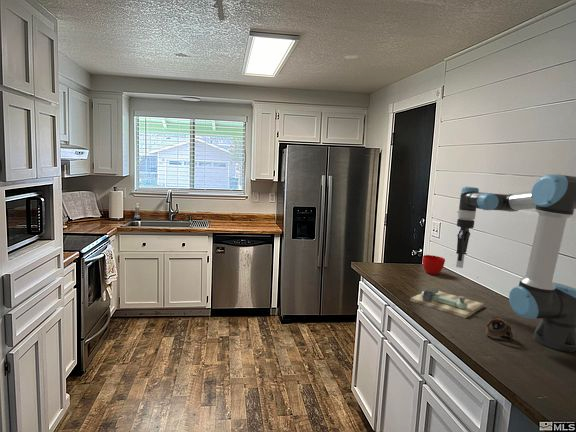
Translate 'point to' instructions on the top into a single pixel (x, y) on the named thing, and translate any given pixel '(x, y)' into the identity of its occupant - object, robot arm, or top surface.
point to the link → (448, 301)
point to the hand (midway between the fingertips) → (459, 267)
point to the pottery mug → (498, 328)
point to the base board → (464, 313)
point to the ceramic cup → (433, 264)
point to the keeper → (429, 294)
